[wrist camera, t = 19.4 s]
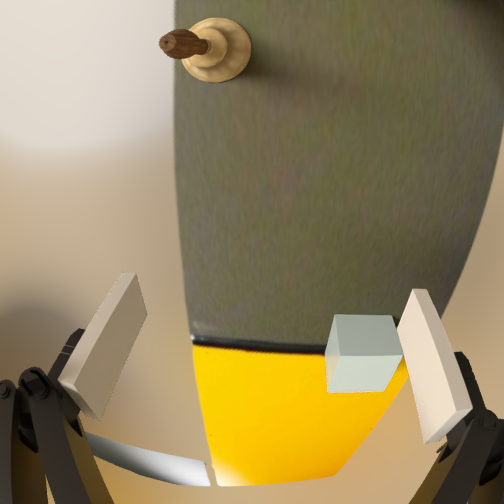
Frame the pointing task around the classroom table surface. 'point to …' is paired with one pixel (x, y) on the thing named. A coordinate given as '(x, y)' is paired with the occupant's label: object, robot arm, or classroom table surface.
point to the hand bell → (210, 49)
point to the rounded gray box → (361, 353)
